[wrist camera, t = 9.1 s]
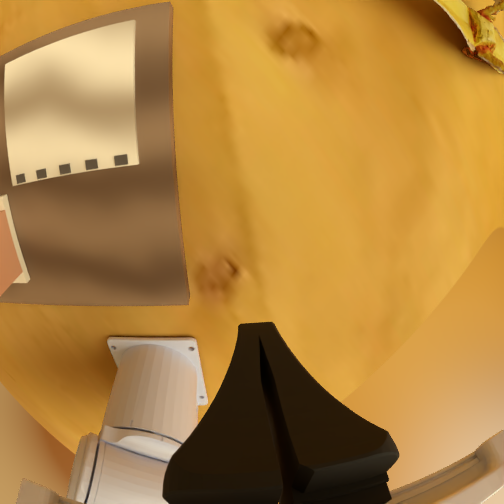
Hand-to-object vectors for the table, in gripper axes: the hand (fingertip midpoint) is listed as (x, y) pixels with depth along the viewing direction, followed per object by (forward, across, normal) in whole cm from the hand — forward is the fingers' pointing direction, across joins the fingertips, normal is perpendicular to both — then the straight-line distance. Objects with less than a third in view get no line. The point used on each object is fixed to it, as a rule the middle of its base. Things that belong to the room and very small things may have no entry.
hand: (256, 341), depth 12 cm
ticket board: (+9, +16, -6) cm, 20 cm away
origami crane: (+10, -18, -18) cm, 27 cm away
